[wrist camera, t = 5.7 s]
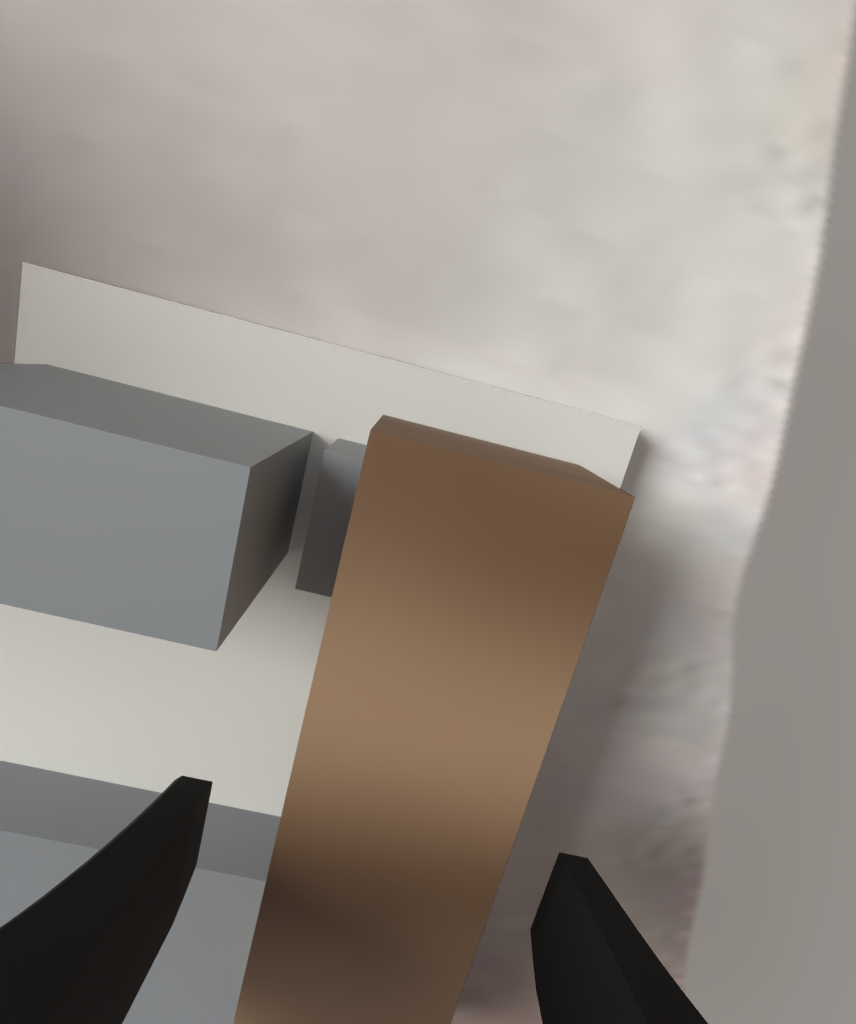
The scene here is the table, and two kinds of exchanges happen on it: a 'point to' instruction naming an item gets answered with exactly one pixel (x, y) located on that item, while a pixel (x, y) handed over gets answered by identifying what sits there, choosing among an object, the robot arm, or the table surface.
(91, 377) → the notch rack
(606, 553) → the walnut bar
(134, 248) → the table surface
